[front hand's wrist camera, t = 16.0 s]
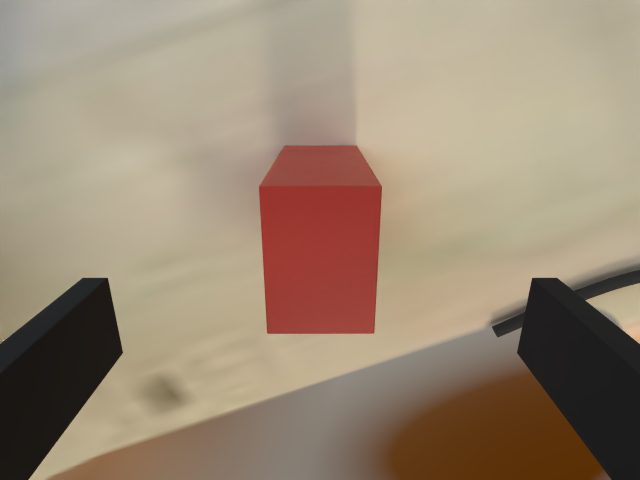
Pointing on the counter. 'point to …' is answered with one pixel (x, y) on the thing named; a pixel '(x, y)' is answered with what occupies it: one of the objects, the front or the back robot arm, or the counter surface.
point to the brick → (320, 241)
